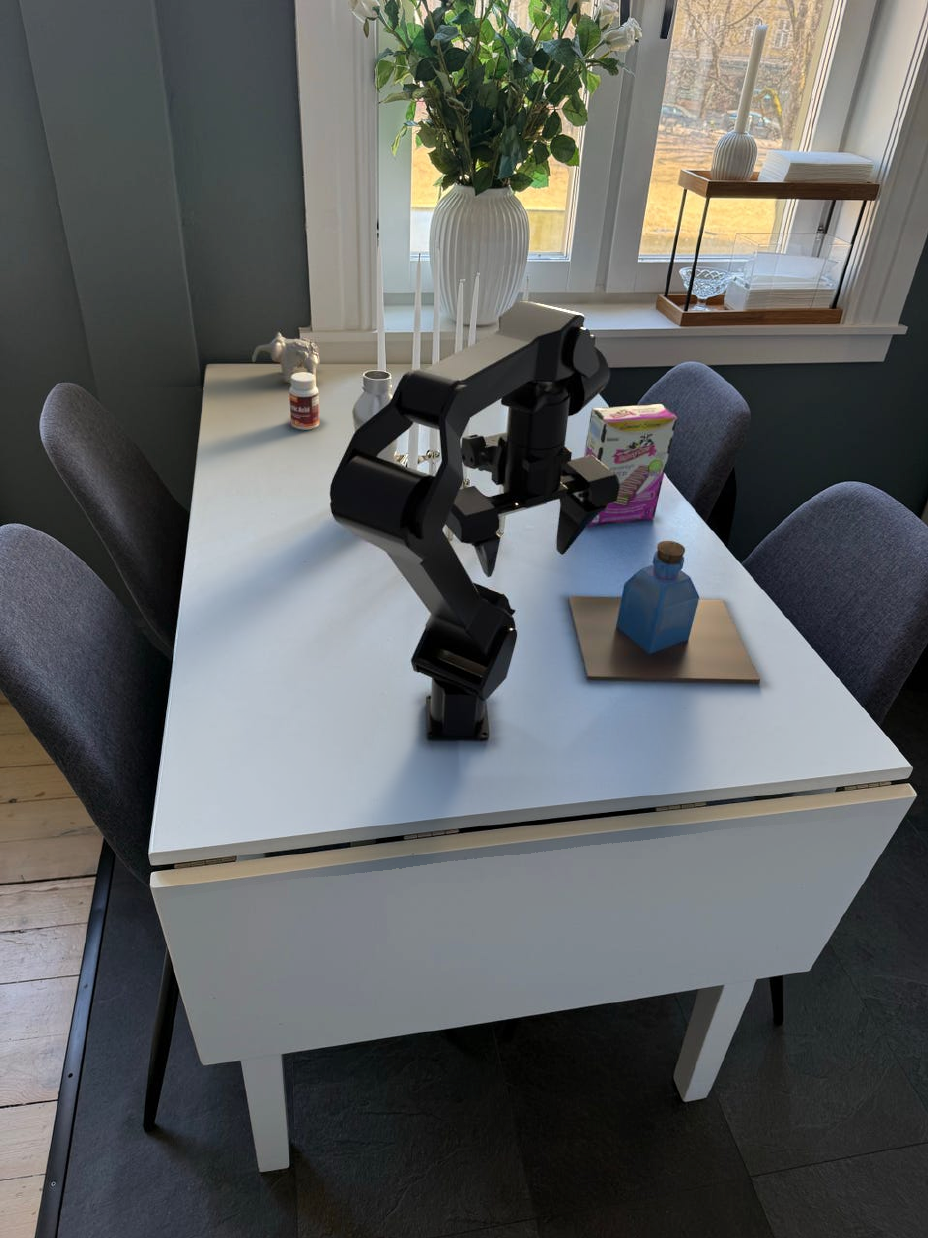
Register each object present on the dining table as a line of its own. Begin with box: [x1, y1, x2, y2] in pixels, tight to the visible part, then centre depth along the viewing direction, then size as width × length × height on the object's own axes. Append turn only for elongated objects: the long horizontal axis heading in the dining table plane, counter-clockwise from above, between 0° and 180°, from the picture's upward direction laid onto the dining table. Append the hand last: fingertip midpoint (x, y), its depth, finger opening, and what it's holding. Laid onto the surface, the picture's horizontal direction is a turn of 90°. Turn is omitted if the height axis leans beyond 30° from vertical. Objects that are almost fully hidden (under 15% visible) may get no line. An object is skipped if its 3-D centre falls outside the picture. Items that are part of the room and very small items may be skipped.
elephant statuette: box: [251, 331, 321, 384], centre depth 168 cm, size 9×12×8 cm
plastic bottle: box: [351, 369, 398, 464], centre depth 126 cm, size 6×7×20 cm
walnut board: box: [567, 595, 761, 684], centre depth 110 cm, size 16×20×1 cm
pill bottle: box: [288, 371, 320, 431], centre depth 152 cm, size 5×5×8 cm
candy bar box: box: [583, 403, 678, 527], centre depth 130 cm, size 11×5×16 cm, turn 108°
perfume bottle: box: [616, 540, 700, 654], centre depth 107 cm, size 6×6×12 cm
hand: (524, 563), depth 99 cm, fingers open, 9 cm apart
